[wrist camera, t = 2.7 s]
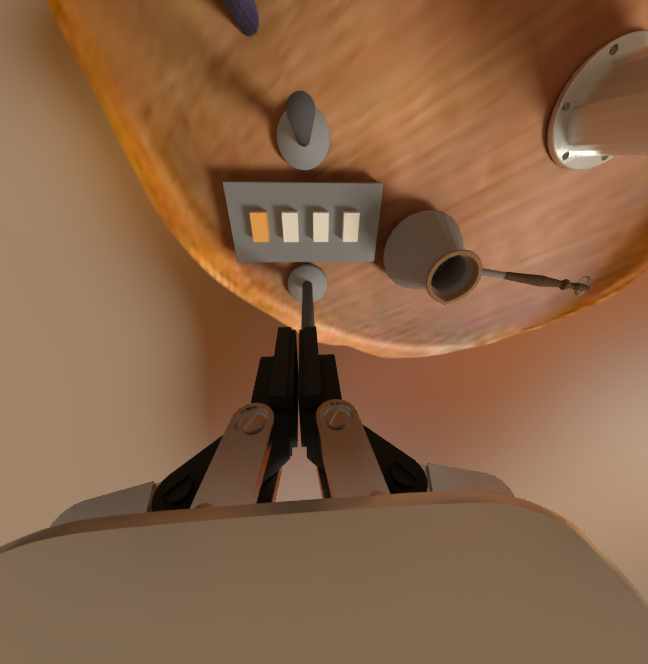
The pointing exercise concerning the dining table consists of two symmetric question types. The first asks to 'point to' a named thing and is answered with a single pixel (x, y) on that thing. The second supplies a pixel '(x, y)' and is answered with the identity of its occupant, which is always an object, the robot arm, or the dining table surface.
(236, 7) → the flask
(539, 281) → the coffee pot
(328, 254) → the breaker strip
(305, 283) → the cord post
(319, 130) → the post
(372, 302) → the dining table surface
